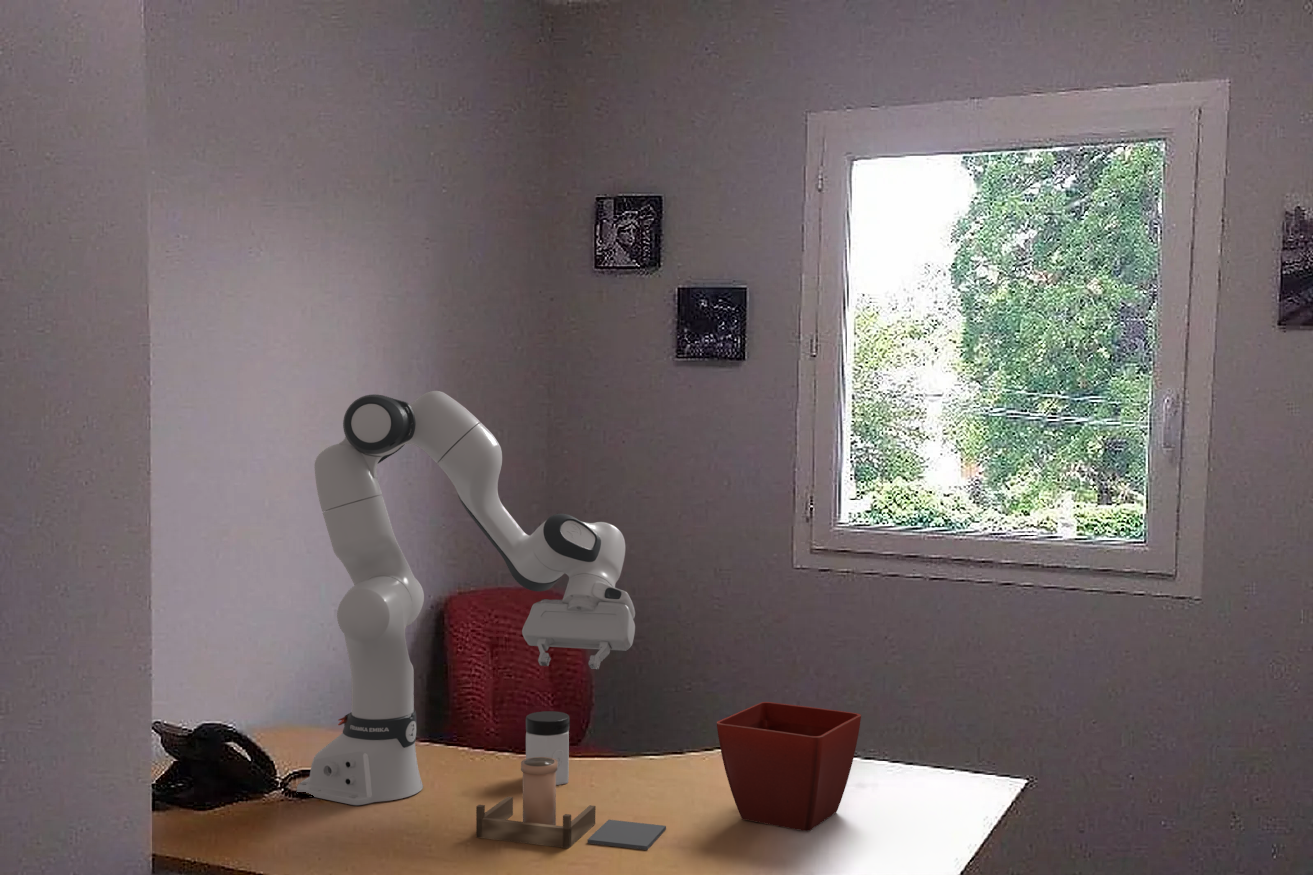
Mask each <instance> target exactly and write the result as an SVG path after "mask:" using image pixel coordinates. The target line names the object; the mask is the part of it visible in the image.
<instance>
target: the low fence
mask: <svg viewBox="0 0 1313 875" xmlns="http://www.w3.org/2000/svg"><path fill="white" fill-rule="evenodd" d="M485 806H486V805H485V804H478V805H476V807H475V808H476V810H475V811H476V812H475V813H476V814H475V816H476V819H475V820H476V821H475V823H476V824H475V825H476V826H475V827H476V829H475V830H476V832H475V833H476V834H475V835H476V837H475V838H480V839H488V840H495V841H496V840H497V841H504V842H505V841H506V842H512V843H513V842H514V843H522V844H530V845H537V846H539V845H540V846H548V847H556V848H564V849H569V848H571V847H572V846H573V845H574V844H575V843H576V842H577V841H578V840H580V839H581V838H582V837H583V836H584V835H585V834H586V833H587V832H588V831H589V830H591V828H593V827H594V826H595V825H596V805H592V804H591V805H588V806H587V807H586V808H585V809H584V810H583V811H581V812H580V813H579V814H578V815H577V816H576V817H574V818H573V819H572V814H568V813H564V815H562V825H557V824H556V825H547V824H539V823H530V822H523V821H519V820H510V819H509V818H510V817H512V816H513V815H514V797H513V796H506V797H505V798H504V799H502V800H501V801H499V802H498V803H496V804H495V805H494V806H492V807H490V809H488V810H485V809H486V807H485Z"/></svg>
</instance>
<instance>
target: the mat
mask: <svg viewBox="0 0 1313 875" xmlns="http://www.w3.org/2000/svg"><path fill="white" fill-rule="evenodd" d="M666 830H667V826H666V825H662V824H655V823H654V824H652V823H643V822H634V821H628V820H627V821H624V820H616V819H608V820H606V821H605V822H604V824H602V825H601V826H600V827H599V828H598V829H597V830H596V831H595V832H594V833H593V834H591V836H589V837H588V838H587V839H586V840H587V844H590V845H591V844H593V845H599V846H600V845H601V846H607V847H608V846H610V847H616V848H625V849H626V848H627V849H633V850H634V849H635V850H645V851H648V850H649V849H650V848H651V847H652V846H653V845H654V843H655V842H656V841H657V840H658V839H659V838H660V837H661V835H662V834H664V832H665V831H666Z"/></svg>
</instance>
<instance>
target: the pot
mask: <svg viewBox="0 0 1313 875" xmlns="http://www.w3.org/2000/svg"><path fill="white" fill-rule="evenodd" d="M557 769H558V761H557V760H556V759H553V758H549V757H533V758H528V759H526V758H525V759H522V760H521V761H520V771H521V773H522V822H530V823H539V824H547V825H556V826H557V822H556V821H557V818H556V816H557V808H556V807H557V806H556V805H557V801H556V800H557V795H556V794H557V785H556V771H557Z"/></svg>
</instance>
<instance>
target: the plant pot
mask: <svg viewBox="0 0 1313 875" xmlns="http://www.w3.org/2000/svg"><path fill="white" fill-rule="evenodd" d="M861 719H862V714H860V713H856V712H849V711H844V710H843V711H842V710H838V709H837V710H835V709H829V708H822V707H814V706H806V705H795V704H789V703H788V704H787V703H780V702H779V703H778V702H771V701H762V702H758V703H757V704H753V705H752V706H750V707H748V708H745V709H743V710H741V711H738V712H736V713H734V714H732V715H730V716H727V717H725V718H723V719H720V720H717V721H716V729H717V735H718V736H717V738H718V742H719V747H720V753H721V758H722V761H723V762H722V763H723V766H724V770H725V775H726V778H727V781H728V785H729V787H730V791H731V795H732V797H733V800H734V803H735V806H736V808H737V810H738V813H739V814H738V815H739V816H740V818H741V819H742V820H744V821H750V822H754V823H755V822H757V823H759V824H760V823H761V824H766V825H771V826H776V827H780V828H786V829H791V830H796V831H803V832H808V831H812V830H813V829H815V828H816V827H817V826H819V825H820V824H822V823H823V822H825V821H826V820H827V819H829V818H830V817H832V816H833V815H834V814H836V813H837V812H838V809H839V807H840V804H841V802H842V800H843V799H842V798H843V795H844V793H845V790H846V787H847V785H848V781H849V776H850V772H851V770H852V765H853V761H854V757H855V753H856V749H857V745H858V744H857V743H858V740H859V733H860V728H861V721H862V720H861Z"/></svg>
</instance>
